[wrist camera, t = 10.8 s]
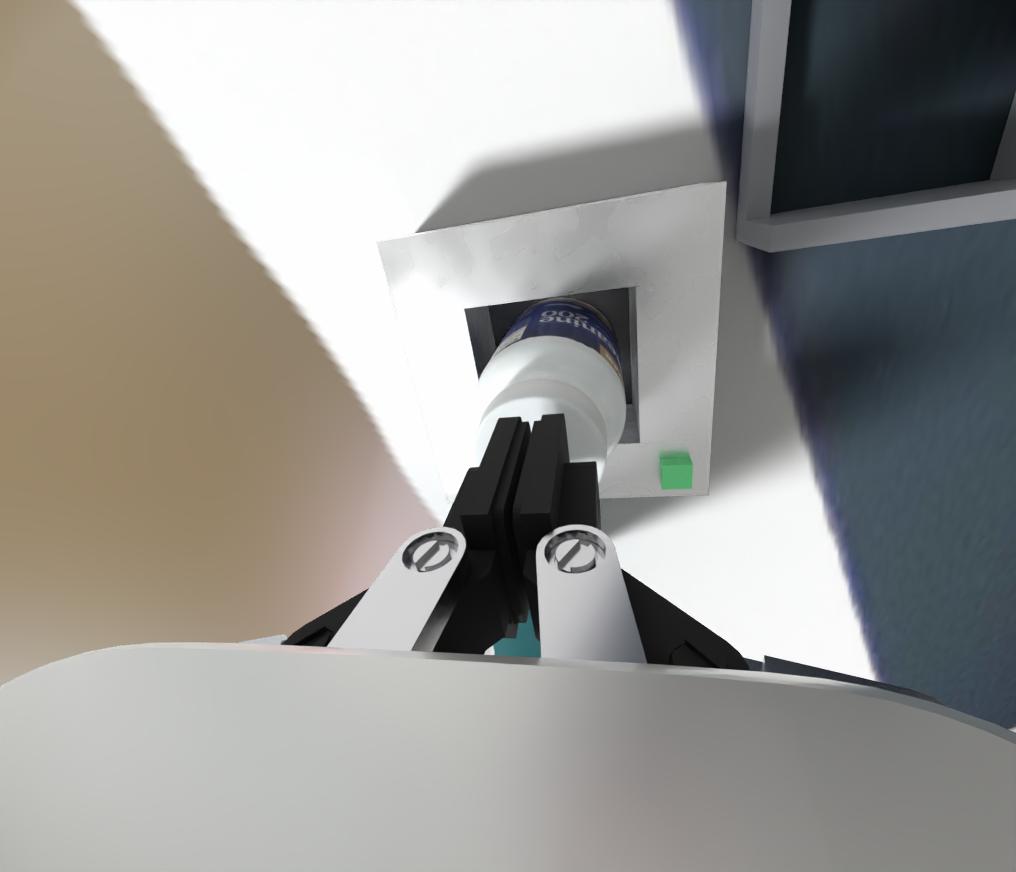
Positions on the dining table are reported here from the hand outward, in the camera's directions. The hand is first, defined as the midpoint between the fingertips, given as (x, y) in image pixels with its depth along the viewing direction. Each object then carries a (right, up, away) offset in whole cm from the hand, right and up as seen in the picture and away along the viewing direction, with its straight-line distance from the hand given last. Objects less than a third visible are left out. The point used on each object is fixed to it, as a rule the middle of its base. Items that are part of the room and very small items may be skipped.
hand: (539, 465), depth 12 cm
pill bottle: (+2, +5, +10) cm, 11 cm away
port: (+2, +5, +10) cm, 11 cm away
